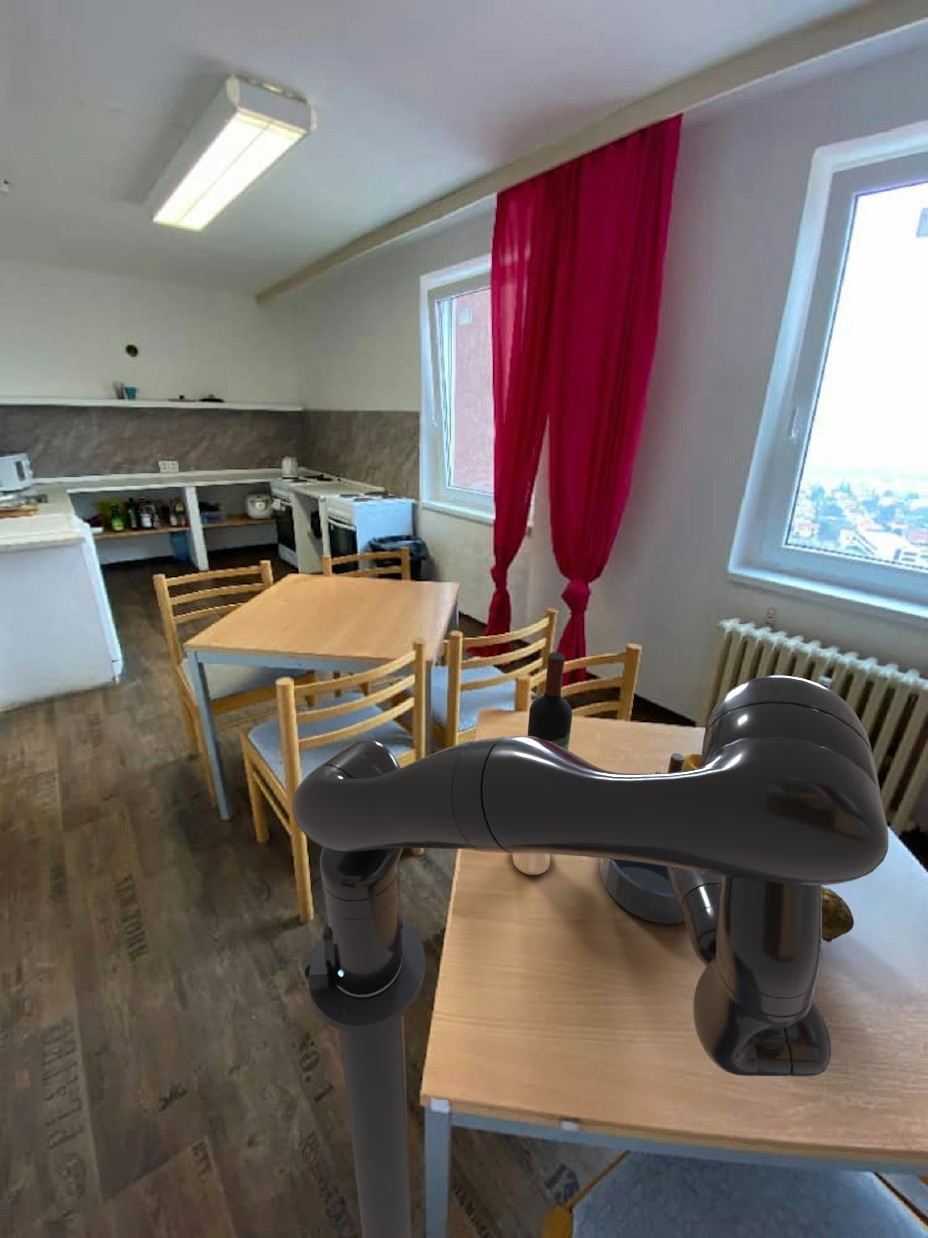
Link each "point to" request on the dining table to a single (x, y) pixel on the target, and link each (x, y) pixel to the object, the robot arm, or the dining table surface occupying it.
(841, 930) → the potato
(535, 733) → the wine bottle
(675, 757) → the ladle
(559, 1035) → the dining table surface
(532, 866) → the beer glass
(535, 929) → the dining table surface
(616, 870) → the bowl
